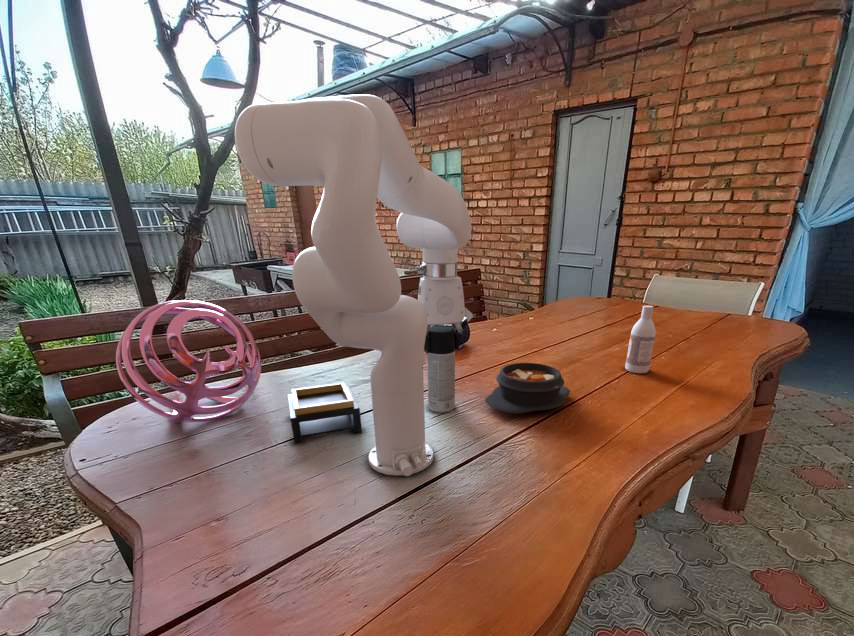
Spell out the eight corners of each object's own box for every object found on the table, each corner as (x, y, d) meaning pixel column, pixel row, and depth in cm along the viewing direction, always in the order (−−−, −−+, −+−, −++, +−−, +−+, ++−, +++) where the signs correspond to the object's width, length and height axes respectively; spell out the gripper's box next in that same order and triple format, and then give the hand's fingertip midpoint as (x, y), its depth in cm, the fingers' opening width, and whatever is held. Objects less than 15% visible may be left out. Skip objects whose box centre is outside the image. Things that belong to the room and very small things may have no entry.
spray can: (456, 403, 109) (456, 325, 101) (453, 414, 102) (453, 332, 94) (430, 401, 109) (428, 325, 101) (426, 412, 103) (423, 332, 95)
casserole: (524, 428, 95) (527, 394, 92) (468, 404, 108) (468, 372, 105) (586, 400, 111) (590, 369, 107) (530, 381, 123) (532, 353, 120)
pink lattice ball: (101, 327, 99) (119, 265, 81) (229, 335, 119) (267, 287, 101) (115, 443, 94) (137, 404, 76) (247, 430, 114) (289, 397, 96)
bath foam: (624, 365, 137) (635, 303, 129) (647, 368, 135) (660, 304, 127) (624, 372, 131) (635, 307, 123) (648, 375, 129) (661, 309, 121)
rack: (362, 432, 93) (359, 401, 90) (294, 444, 88) (289, 411, 85) (350, 408, 105) (348, 380, 102) (291, 417, 100) (286, 388, 97)
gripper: (406, 274, 87) (410, 358, 94) (483, 271, 93) (481, 350, 100) (397, 270, 93) (400, 349, 100) (469, 268, 99) (468, 342, 106)
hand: (440, 349), depth 100 cm, fingers closed on spray can, 6 cm apart
